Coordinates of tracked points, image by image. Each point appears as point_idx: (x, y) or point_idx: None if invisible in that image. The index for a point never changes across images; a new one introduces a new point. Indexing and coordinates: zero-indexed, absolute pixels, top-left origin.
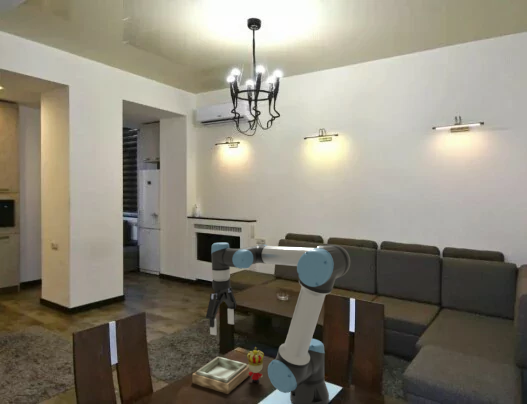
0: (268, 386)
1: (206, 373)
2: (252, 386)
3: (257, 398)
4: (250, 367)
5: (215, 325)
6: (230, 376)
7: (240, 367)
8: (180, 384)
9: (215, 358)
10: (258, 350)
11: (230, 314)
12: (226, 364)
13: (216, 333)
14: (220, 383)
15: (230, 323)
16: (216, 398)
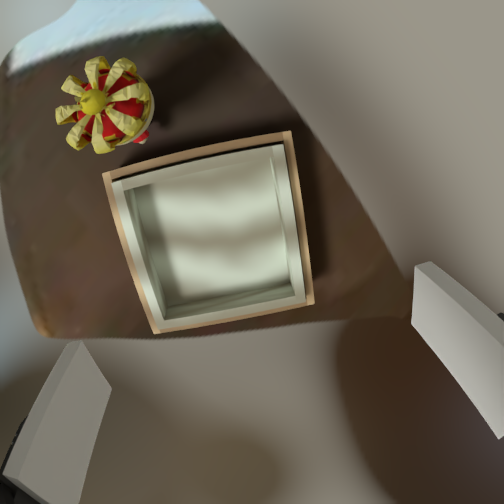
0: (135, 60)
1: (295, 257)
2: (172, 102)
3: (226, 36)
4: (153, 107)
5: (496, 316)
6: (248, 153)
7: (154, 179)
8: (326, 312)
9: (176, 324)
10: (61, 115)
11: (63, 446)
12: (154, 273)
13: (426, 270)
14: (295, 167)
15: (95, 370)
16: (320, 152)
